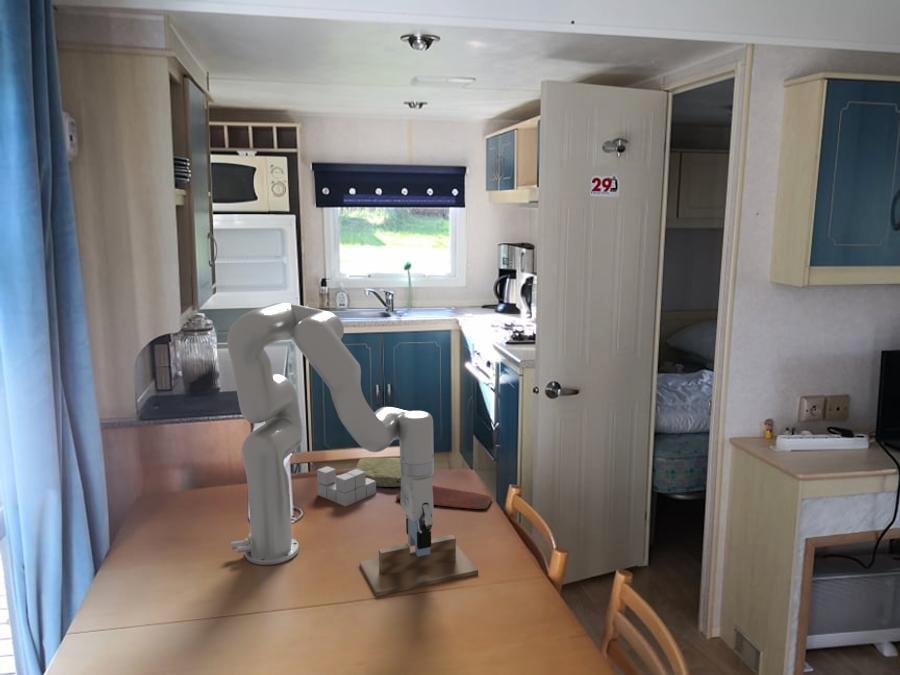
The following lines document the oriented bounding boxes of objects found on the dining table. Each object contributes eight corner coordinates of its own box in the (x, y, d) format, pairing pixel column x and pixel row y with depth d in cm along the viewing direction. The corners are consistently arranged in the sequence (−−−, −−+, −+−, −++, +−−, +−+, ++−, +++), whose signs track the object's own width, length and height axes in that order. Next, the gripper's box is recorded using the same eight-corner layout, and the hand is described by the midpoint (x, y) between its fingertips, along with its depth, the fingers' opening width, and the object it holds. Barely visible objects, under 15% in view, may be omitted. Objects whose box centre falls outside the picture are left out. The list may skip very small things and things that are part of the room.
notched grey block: (430, 553, 154) (429, 520, 152) (417, 556, 153) (417, 523, 151) (420, 540, 160) (419, 509, 158) (408, 543, 159) (407, 511, 157)
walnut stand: (376, 596, 146) (375, 568, 145) (359, 565, 159) (358, 539, 158) (478, 573, 155) (478, 547, 154) (454, 546, 168) (454, 521, 167)
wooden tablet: (394, 502, 193) (393, 496, 193) (406, 486, 203) (405, 481, 202) (485, 513, 186) (485, 508, 186) (493, 496, 195) (493, 491, 195)
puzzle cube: (376, 493, 200) (375, 467, 198) (345, 507, 191) (344, 480, 189) (348, 482, 207) (348, 458, 206) (317, 495, 198) (316, 469, 197)
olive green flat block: (358, 454, 219) (419, 448, 219) (360, 472, 220) (422, 465, 220) (348, 477, 201) (415, 470, 200) (351, 496, 202) (418, 489, 201)
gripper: (389, 456, 159) (391, 527, 162) (414, 483, 143) (415, 561, 147) (419, 451, 162) (421, 521, 165) (447, 477, 146) (448, 554, 149)
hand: (418, 539), depth 156 cm, fingers closed on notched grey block, 6 cm apart
